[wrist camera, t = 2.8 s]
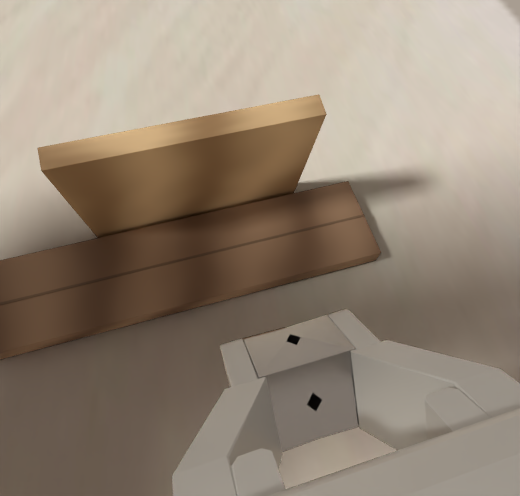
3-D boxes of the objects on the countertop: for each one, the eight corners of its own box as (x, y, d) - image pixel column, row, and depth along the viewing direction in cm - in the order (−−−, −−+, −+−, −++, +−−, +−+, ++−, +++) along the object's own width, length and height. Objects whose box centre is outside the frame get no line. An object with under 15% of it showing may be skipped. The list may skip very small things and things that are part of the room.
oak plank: (95, 222, 30) (98, 238, 29) (37, 147, 20) (41, 170, 20) (288, 179, 32) (293, 193, 32) (318, 94, 22) (326, 114, 22)
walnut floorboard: (-5, 360, 26) (-16, 356, 25) (-8, 271, 28) (-18, 264, 27) (376, 260, 30) (381, 252, 29) (344, 190, 33) (348, 180, 31)
